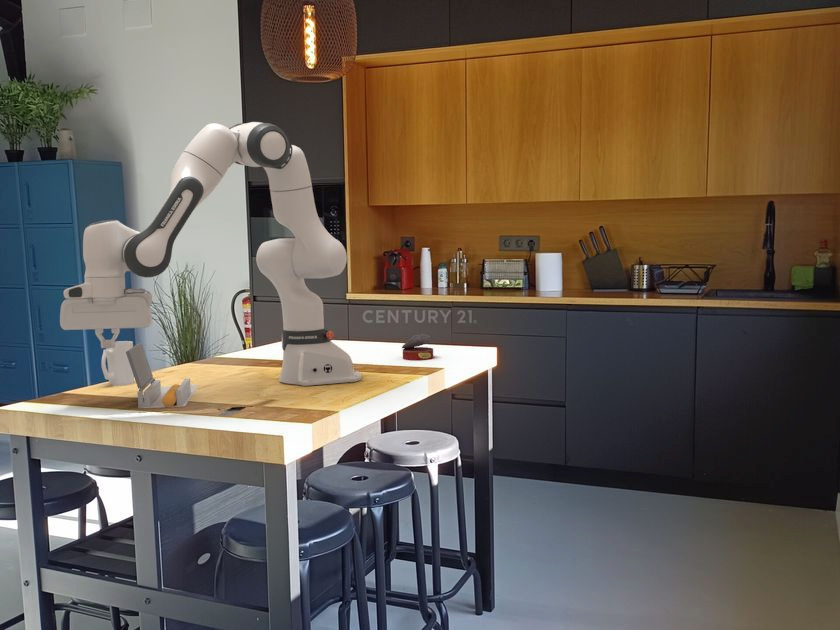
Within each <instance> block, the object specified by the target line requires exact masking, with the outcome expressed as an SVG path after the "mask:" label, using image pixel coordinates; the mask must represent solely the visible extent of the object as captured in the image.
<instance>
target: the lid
mask: <svg viewBox="0 0 840 630" xmlns="http://www.w3.org/2000/svg"><path fill="white" fill-rule="evenodd" d="M126 355H127V358H128V360H129V363H130V366H131V369H132V372H133V375H134V382H135V383H136V387H137V388H138V391H143V392H144V391H145V390H146V389H147V388H148V387H149V386H150V385H151V382H152V381H153V380H154V378H155V377H154V375H153V371H152V368H151V366H150V364H149V361H148V357H147V354H146V352H145V349H144V347H143V343H142V342H139V343H137V344H135V345H133V347H132V348H131V349H129V350H128V351H126Z"/></svg>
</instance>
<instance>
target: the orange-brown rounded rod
mask: <svg viewBox="0 0 840 630" xmlns="http://www.w3.org/2000/svg"><path fill="white" fill-rule="evenodd" d="M180 385H181V384H180ZM180 385H179V384H172V385H170V386H171V388H170V389H169V390H168V391H167V393H166V394H165V395H164V396H163V398H162V403H163V404H164V405H165V406H167V407H166V408H171V407H170V406H173V405H174V404H175V402H176V401H177V398H176V390H177V389H178V387H179V386H180Z"/></svg>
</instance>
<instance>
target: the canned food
mask: <svg viewBox="0 0 840 630" xmlns="http://www.w3.org/2000/svg"><path fill="white" fill-rule="evenodd" d="M431 339H432V337H431V336H430V335H428V334H426V333H419V334H416V335H413V336H412V337H409V340H407V341H406V342H405V343H404V344H403V345H402V346H401V349H402V360H404V361H410V362H411V361H413V362H415V361H416V362H417V361H418V362H419V361H420V362H421V361H429V360H433V359H434V348H432V347H424V346H423V345H426V344H428V343H429V342H430V341H431Z"/></svg>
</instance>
